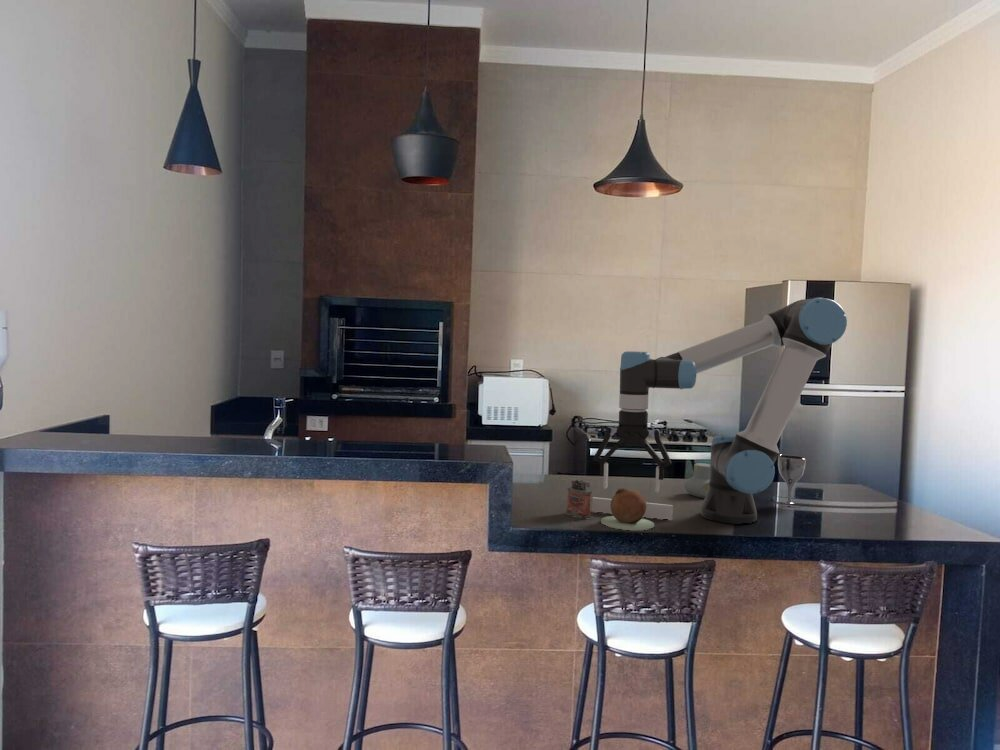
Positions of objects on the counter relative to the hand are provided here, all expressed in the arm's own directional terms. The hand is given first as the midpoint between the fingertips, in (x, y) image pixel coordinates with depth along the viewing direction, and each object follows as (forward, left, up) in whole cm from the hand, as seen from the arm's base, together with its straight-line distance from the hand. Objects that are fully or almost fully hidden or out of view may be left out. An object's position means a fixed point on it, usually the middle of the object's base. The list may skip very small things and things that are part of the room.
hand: (631, 489), depth 209 cm
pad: (0, 0, -9) cm, 9 cm away
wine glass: (-44, -46, -9) cm, 64 cm away
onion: (0, 0, -9) cm, 9 cm away
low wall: (0, -10, -9) cm, 14 cm away
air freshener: (-18, -47, -10) cm, 51 cm away
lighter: (+14, -3, -9) cm, 17 cm away
